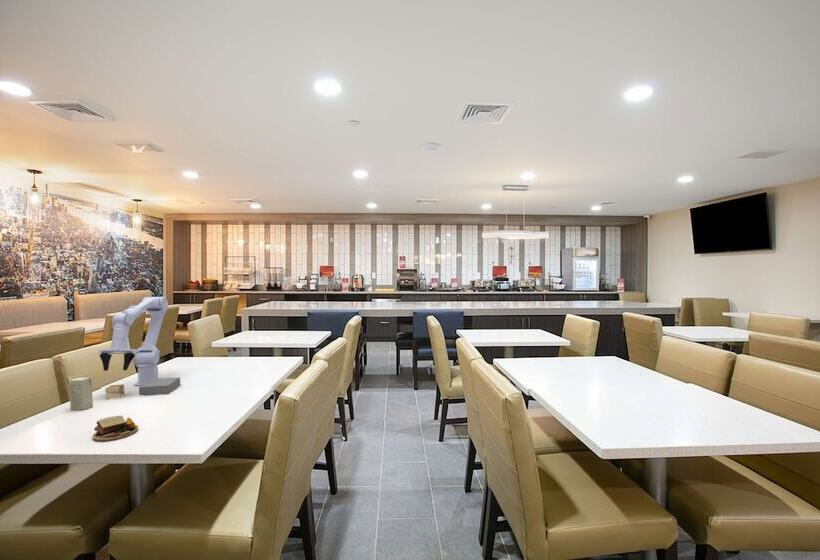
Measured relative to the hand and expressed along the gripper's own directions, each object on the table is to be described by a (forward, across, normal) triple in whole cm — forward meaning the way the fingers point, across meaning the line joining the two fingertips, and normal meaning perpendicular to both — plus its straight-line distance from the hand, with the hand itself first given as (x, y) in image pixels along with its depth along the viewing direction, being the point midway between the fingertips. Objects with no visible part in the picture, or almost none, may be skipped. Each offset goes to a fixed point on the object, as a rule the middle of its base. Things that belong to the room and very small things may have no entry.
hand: (115, 370), depth 175 cm
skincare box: (+15, -6, -9) cm, 19 cm away
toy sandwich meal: (+23, +22, -40) cm, 51 cm away
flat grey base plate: (+9, +16, +9) cm, 21 cm away
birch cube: (+12, 0, +4) cm, 12 cm away
